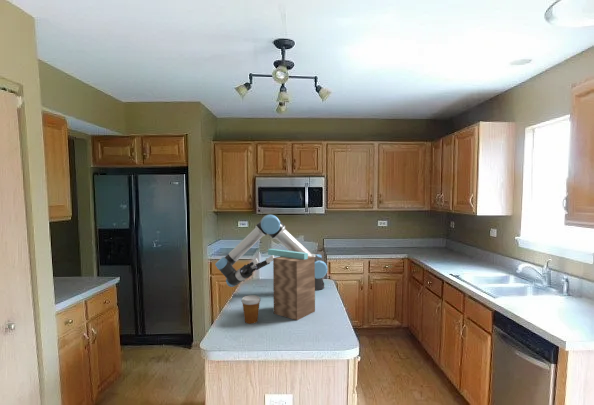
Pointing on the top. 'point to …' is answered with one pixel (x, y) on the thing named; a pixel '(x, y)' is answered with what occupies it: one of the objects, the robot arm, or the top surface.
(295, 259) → the stand
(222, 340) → the top surface
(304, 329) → the top surface
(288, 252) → the bar
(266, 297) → the top surface
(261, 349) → the top surface
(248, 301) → the disposable coffee cup
